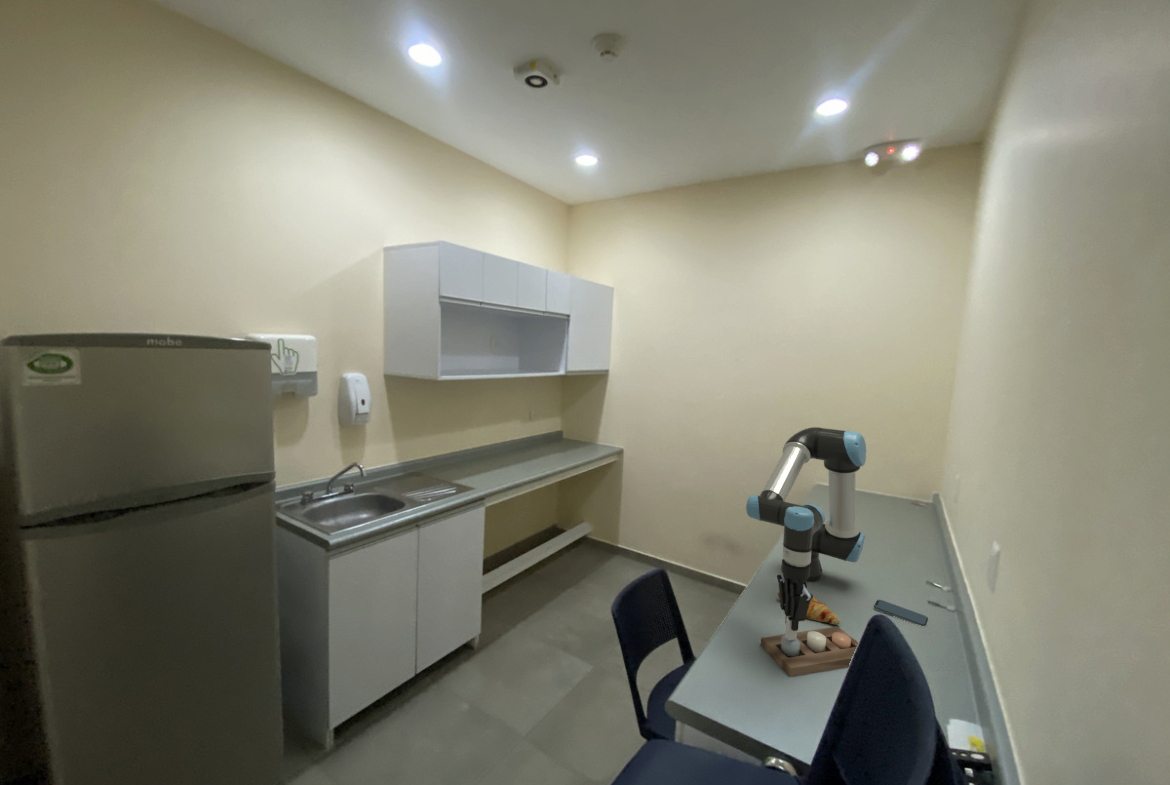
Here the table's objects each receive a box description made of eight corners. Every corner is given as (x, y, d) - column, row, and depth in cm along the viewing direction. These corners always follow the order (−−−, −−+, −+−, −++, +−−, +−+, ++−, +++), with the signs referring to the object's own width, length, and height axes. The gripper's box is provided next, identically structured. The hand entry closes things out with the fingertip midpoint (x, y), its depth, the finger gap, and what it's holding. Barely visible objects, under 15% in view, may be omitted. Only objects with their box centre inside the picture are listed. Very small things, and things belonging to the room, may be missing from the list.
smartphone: (925, 625, 154) (873, 606, 165) (924, 630, 155) (872, 610, 165) (928, 616, 160) (878, 598, 170) (927, 620, 160) (877, 602, 170)
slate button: (777, 647, 140) (777, 636, 139) (791, 644, 141) (792, 634, 141) (788, 658, 135) (788, 646, 135) (802, 655, 136) (803, 644, 136)
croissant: (841, 633, 156) (848, 609, 158) (832, 630, 150) (839, 606, 152) (780, 605, 172) (786, 583, 174) (769, 601, 166) (776, 579, 167)
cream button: (803, 643, 142) (803, 632, 142) (817, 641, 143) (817, 630, 143) (814, 653, 137) (815, 642, 137) (829, 651, 138) (829, 640, 138)
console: (760, 645, 144) (760, 637, 144) (837, 633, 150) (837, 626, 150) (790, 676, 130) (791, 668, 130) (873, 662, 137) (873, 654, 137)
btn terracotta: (827, 644, 144) (828, 633, 144) (841, 641, 145) (842, 631, 145) (840, 654, 139) (840, 643, 139) (854, 652, 141) (854, 641, 140)
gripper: (770, 552, 141) (766, 626, 143) (800, 573, 128) (794, 654, 130) (792, 550, 142) (787, 623, 145) (823, 570, 130) (817, 650, 132)
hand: (790, 638), depth 137 cm, fingers closed
